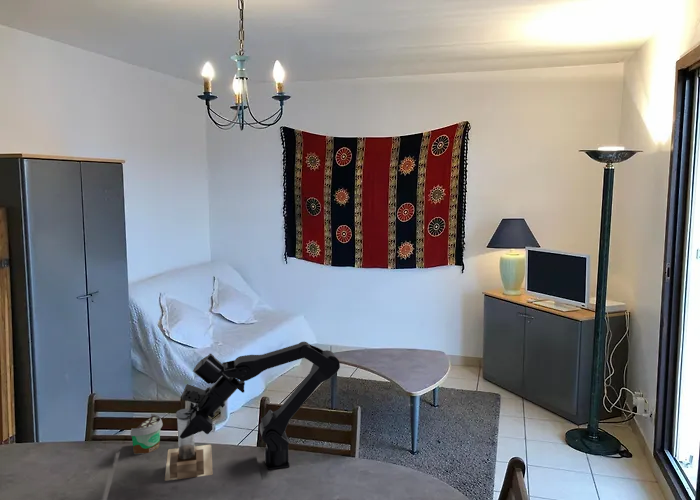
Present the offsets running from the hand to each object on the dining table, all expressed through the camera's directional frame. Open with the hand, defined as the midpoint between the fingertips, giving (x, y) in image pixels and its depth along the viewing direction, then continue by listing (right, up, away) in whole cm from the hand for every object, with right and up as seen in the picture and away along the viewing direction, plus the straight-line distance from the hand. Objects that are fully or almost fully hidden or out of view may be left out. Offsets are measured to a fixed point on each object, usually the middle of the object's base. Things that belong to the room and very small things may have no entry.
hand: (181, 434), depth 161 cm
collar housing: (+1, -12, +7) cm, 13 cm away
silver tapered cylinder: (+1, -6, +1) cm, 7 cm away
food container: (-14, -11, +15) cm, 23 cm away
